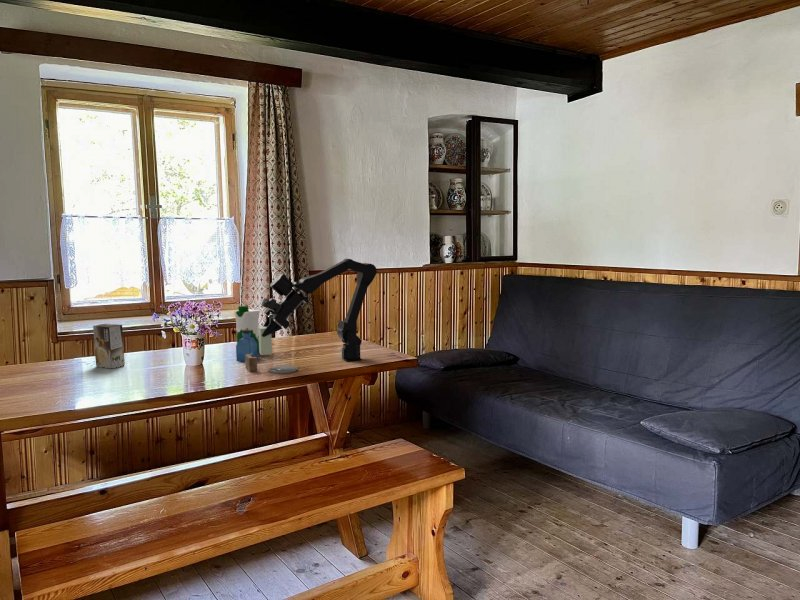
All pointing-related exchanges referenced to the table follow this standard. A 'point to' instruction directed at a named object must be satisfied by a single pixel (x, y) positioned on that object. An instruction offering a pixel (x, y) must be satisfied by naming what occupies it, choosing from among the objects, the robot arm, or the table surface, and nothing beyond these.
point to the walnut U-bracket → (250, 362)
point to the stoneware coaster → (283, 369)
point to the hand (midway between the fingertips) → (261, 335)
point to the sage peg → (264, 342)
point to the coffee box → (109, 345)
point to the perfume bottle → (246, 346)
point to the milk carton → (247, 322)
